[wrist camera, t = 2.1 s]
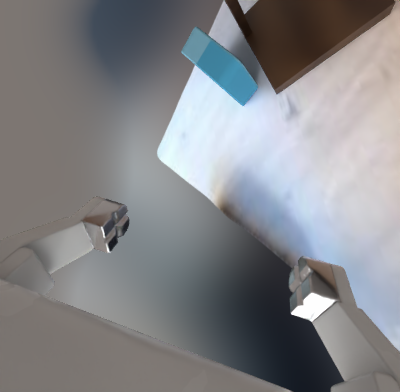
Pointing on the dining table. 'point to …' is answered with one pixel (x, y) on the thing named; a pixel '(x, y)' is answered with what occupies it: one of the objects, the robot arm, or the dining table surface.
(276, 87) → the shelf
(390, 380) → the robot arm
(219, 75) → the data package
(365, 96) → the dining table surface
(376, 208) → the dining table surface
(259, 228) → the dining table surface
